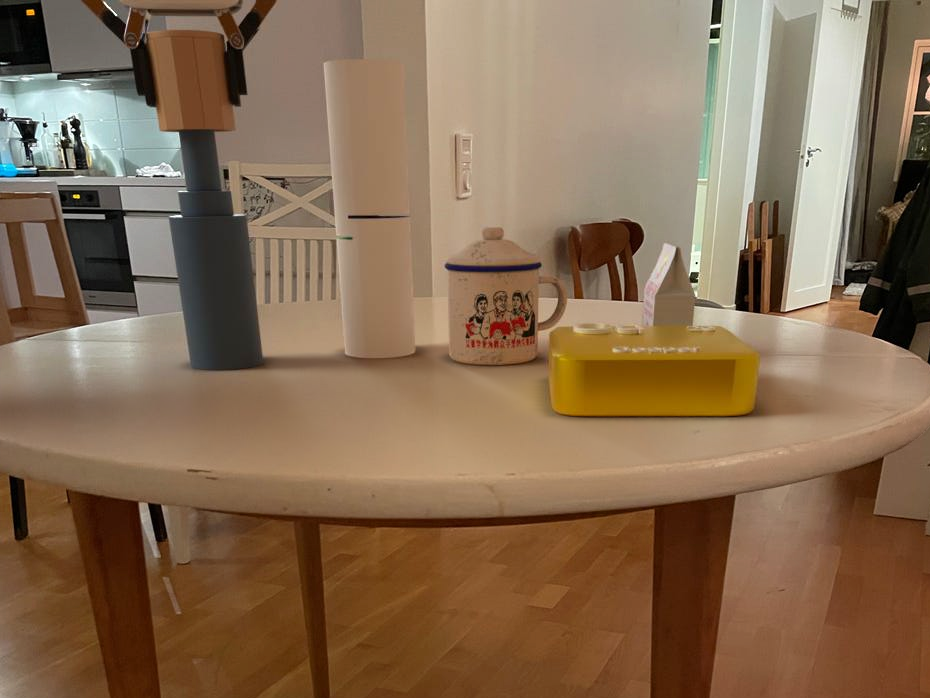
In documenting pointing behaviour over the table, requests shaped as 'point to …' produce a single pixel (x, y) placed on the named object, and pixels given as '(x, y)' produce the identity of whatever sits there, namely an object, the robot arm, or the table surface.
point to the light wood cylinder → (190, 80)
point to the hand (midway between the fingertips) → (194, 103)
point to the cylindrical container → (371, 205)
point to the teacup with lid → (496, 302)
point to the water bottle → (213, 264)
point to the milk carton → (668, 292)
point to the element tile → (651, 371)
